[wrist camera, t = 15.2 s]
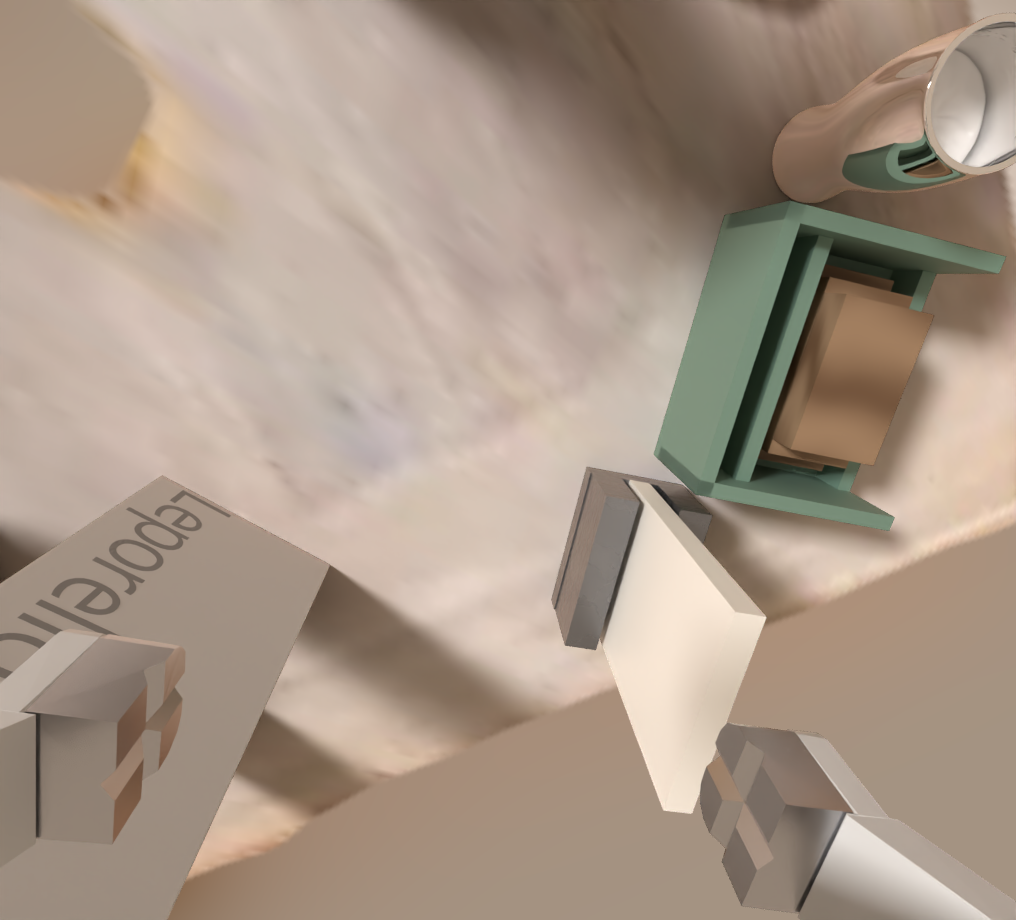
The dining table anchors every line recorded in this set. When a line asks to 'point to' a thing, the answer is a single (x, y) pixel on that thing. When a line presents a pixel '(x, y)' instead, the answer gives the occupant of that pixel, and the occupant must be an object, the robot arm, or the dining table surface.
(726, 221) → the offcut rack
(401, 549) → the dining table surface
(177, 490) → the brochure
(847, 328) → the top offcut
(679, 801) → the cream rectangular slab
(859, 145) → the beer glass
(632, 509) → the stand
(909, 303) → the middle offcut
